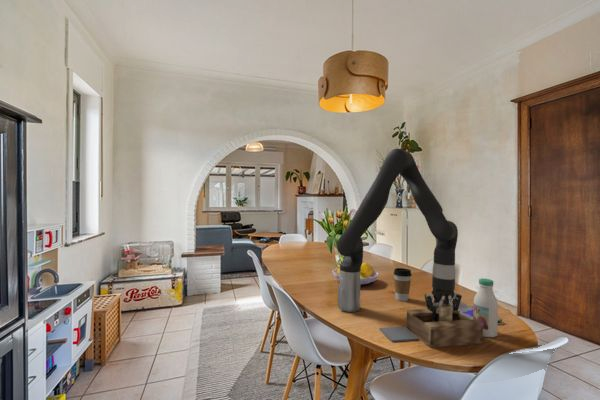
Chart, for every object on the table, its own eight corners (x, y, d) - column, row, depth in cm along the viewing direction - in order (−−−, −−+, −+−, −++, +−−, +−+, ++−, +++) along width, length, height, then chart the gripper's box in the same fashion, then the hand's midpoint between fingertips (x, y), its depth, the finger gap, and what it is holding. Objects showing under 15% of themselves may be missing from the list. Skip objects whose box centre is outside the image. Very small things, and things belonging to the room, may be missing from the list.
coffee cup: (399, 303, 142) (400, 271, 142) (389, 297, 150) (390, 267, 150) (414, 301, 144) (415, 270, 144) (404, 295, 153) (404, 266, 152)
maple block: (440, 326, 107) (441, 307, 106) (432, 321, 111) (433, 302, 111) (451, 326, 107) (452, 306, 107) (443, 320, 112) (444, 302, 112)
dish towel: (468, 329, 115) (468, 322, 115) (428, 306, 139) (428, 300, 139) (505, 325, 119) (505, 318, 119) (460, 304, 143) (460, 298, 143)
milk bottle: (488, 328, 115) (489, 277, 115) (502, 338, 108) (503, 282, 107) (468, 328, 115) (469, 276, 115) (480, 338, 107) (482, 282, 107)
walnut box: (430, 347, 100) (430, 326, 100) (406, 328, 115) (407, 310, 115) (482, 343, 103) (483, 323, 103) (453, 324, 118) (453, 307, 118)
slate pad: (391, 342, 103) (391, 340, 103) (379, 329, 113) (379, 327, 113) (418, 340, 105) (418, 338, 105) (403, 327, 115) (403, 326, 115)
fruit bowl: (381, 290, 162) (381, 269, 162) (330, 287, 166) (331, 266, 166) (376, 276, 189) (376, 258, 189) (333, 274, 194) (333, 256, 194)
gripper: (432, 279, 104) (430, 327, 104) (468, 278, 106) (467, 325, 107) (419, 273, 111) (418, 319, 112) (454, 272, 114) (452, 317, 114)
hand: (442, 322), depth 109 cm, fingers closed on maple block, 4 cm apart
